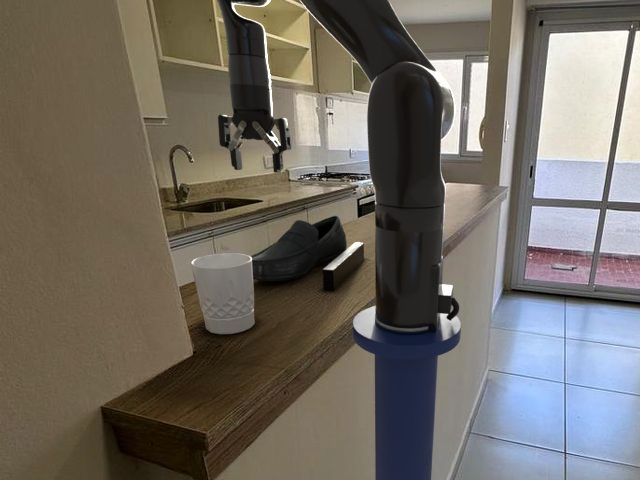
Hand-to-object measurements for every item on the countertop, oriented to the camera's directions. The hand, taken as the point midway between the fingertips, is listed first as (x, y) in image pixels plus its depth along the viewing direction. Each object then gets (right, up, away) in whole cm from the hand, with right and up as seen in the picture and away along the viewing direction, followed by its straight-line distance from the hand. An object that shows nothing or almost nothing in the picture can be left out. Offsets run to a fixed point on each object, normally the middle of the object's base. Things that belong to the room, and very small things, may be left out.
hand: (258, 171), depth 93 cm
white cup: (+6, -32, -27) cm, 42 cm away
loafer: (+9, -21, 0) cm, 23 cm away
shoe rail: (+18, -21, -1) cm, 28 cm away
